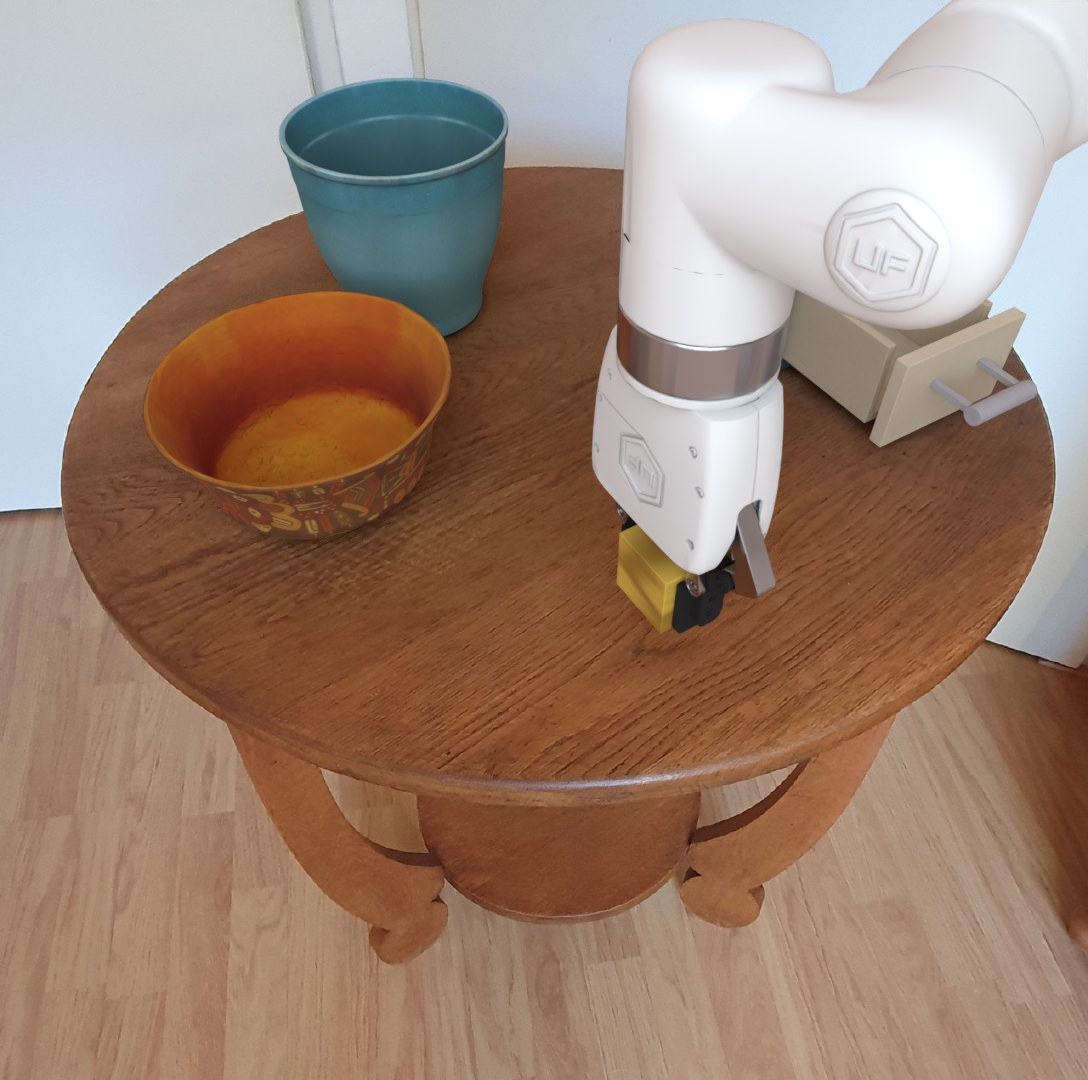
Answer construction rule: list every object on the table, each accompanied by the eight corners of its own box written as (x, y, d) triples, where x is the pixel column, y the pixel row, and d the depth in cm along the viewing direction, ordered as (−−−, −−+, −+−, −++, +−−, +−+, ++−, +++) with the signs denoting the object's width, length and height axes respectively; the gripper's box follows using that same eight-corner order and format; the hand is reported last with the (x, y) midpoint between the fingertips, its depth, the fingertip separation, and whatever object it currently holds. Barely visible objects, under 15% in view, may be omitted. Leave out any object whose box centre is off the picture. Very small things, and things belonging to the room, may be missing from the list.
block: (722, 602, 55) (732, 551, 52) (660, 634, 54) (666, 584, 51) (676, 553, 58) (683, 502, 55) (616, 583, 57) (618, 532, 53)
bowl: (161, 599, 64) (111, 496, 57) (202, 399, 78) (166, 295, 71) (469, 574, 66) (459, 470, 58) (455, 381, 80) (446, 278, 72)
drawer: (1040, 429, 74) (1082, 348, 68) (927, 487, 70) (962, 405, 64) (864, 307, 85) (888, 228, 80) (758, 350, 81) (774, 270, 75)
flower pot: (304, 270, 91) (265, 91, 78) (484, 240, 95) (474, 63, 82) (335, 383, 80) (294, 194, 67) (538, 343, 83) (537, 157, 70)
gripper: (533, 271, 46) (541, 527, 60) (756, 473, 36) (706, 725, 50) (658, 228, 49) (639, 483, 62) (899, 405, 39) (814, 663, 52)
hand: (669, 588), depth 56 cm, fingers closed on block, 4 cm apart
